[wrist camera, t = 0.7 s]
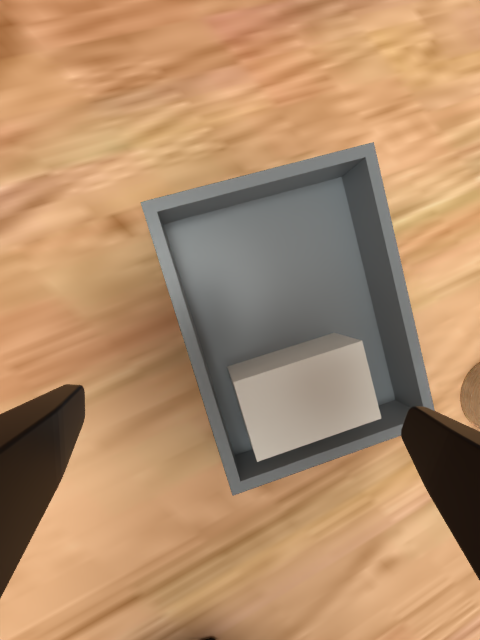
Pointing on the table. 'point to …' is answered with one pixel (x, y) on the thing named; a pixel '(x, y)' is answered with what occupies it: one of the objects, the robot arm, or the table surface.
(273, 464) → the tote
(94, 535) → the table surface
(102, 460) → the table surface
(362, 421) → the white rectangular block
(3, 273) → the table surface
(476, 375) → the steel tin
